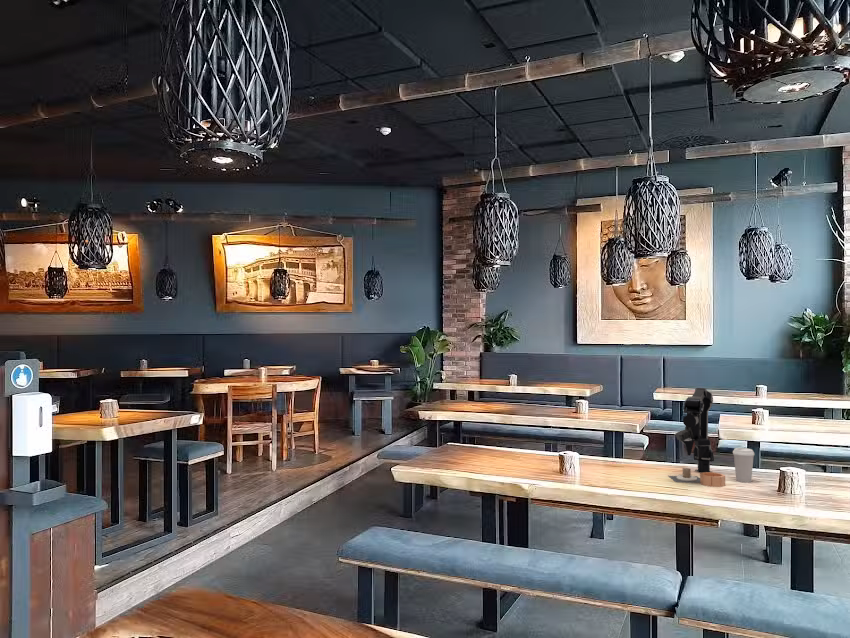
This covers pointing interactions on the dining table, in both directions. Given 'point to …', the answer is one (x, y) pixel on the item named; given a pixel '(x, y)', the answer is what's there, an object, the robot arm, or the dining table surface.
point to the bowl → (712, 479)
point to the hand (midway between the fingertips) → (694, 457)
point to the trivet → (684, 481)
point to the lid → (686, 475)
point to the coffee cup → (743, 464)
